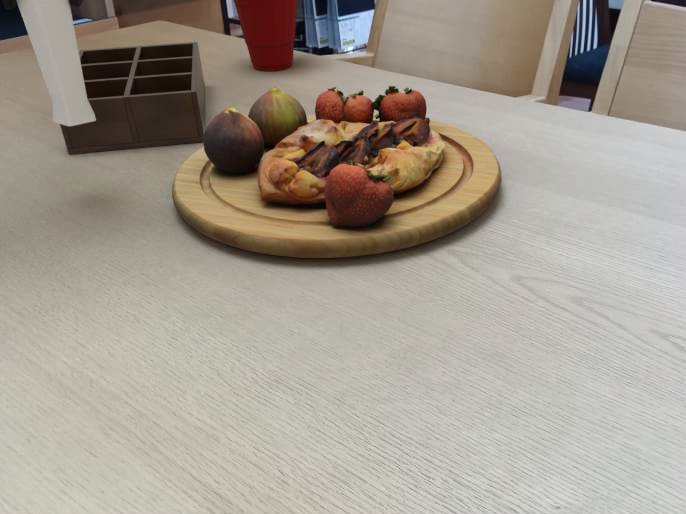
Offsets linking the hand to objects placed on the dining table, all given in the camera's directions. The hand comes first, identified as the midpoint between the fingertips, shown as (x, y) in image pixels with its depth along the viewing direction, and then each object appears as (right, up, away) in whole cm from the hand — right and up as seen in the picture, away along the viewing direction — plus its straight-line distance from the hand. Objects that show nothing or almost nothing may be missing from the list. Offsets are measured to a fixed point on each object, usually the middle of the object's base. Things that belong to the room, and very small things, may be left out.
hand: (45, 2), depth 63 cm
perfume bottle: (0, -8, +6) cm, 10 cm away
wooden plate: (+24, -13, +11) cm, 30 cm away
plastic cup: (+12, +14, +46) cm, 50 cm away
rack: (-1, +1, +29) cm, 29 cm away
